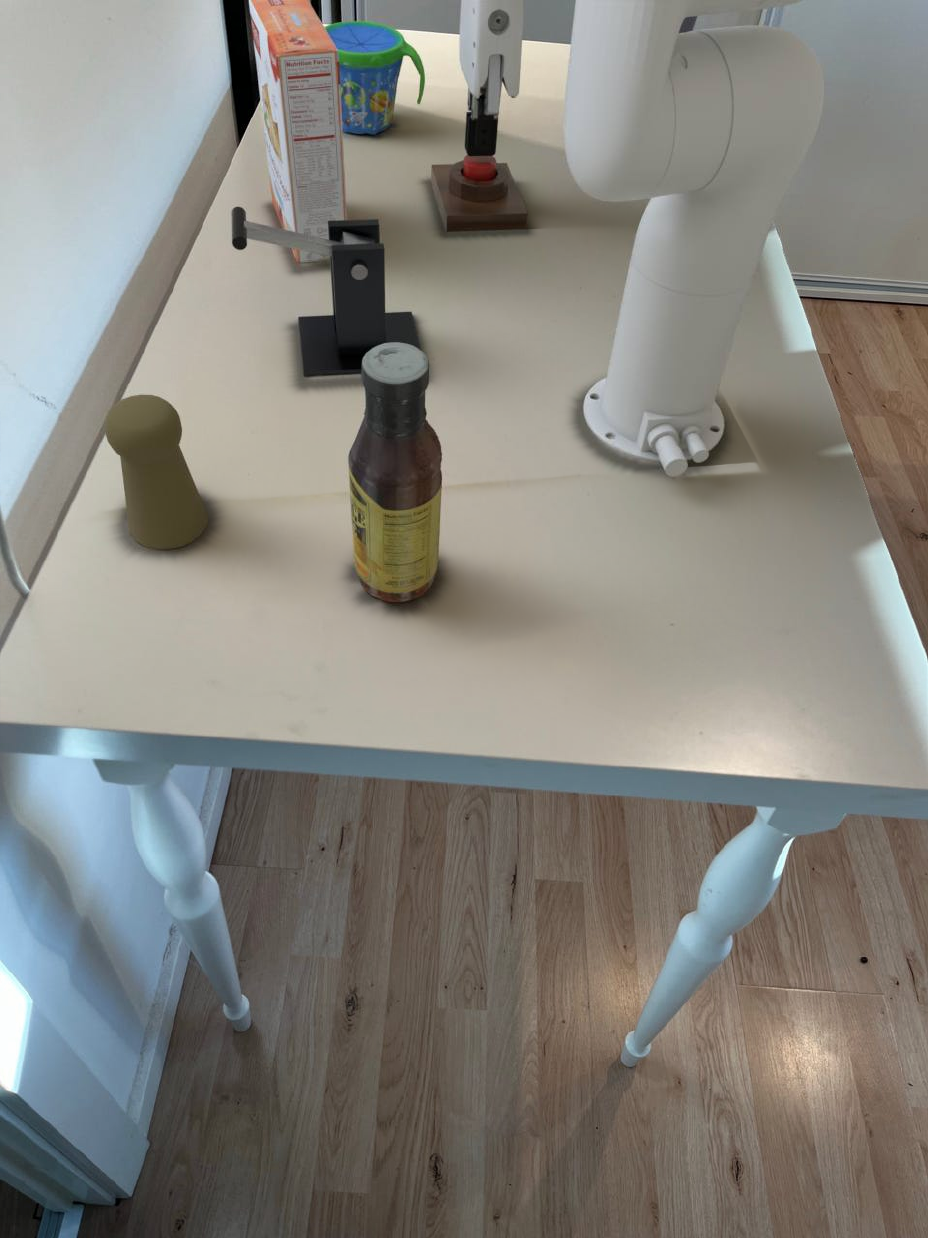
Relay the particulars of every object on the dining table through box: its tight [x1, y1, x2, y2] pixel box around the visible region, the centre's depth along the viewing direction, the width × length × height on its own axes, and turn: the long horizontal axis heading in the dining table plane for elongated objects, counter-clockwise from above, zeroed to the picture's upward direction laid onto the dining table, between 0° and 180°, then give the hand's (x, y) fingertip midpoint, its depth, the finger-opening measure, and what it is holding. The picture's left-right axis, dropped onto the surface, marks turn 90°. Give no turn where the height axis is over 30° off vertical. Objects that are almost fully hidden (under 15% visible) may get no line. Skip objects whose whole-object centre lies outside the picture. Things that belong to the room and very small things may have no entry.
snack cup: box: [324, 20, 426, 136], centre depth 117 cm, size 16×10×10 cm
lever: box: [230, 206, 375, 257], centre depth 80 cm, size 12×5×2 cm, turn 99°
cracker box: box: [248, 0, 348, 264], centre depth 94 cm, size 14×6×21 cm, turn 18°
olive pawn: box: [104, 394, 209, 550], centre depth 70 cm, size 6×6×11 cm
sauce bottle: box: [347, 342, 443, 603], centre depth 64 cm, size 6×6×20 cm
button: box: [463, 154, 497, 181], centre depth 105 cm, size 4×4×2 cm
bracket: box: [297, 218, 422, 378], centre depth 85 cm, size 11×9×12 cm
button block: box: [430, 159, 529, 233], centre depth 107 cm, size 12×9×4 cm
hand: (479, 152), depth 104 cm, fingers closed
